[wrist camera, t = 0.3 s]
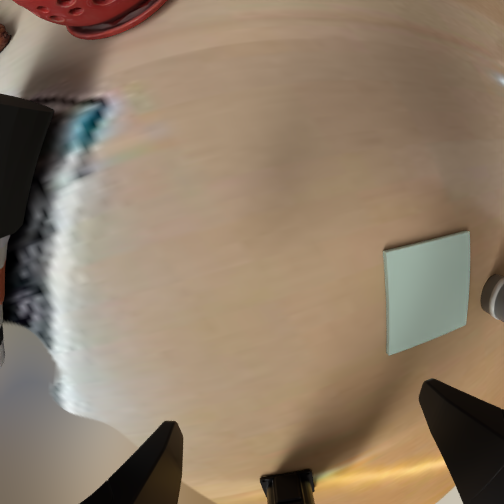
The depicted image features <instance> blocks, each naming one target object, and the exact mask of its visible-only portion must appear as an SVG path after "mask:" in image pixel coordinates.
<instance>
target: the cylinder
mask: <svg viewBox="0 0 504 504" xmlns="http://www.w3.org/2000/svg"><path fill="white" fill-rule="evenodd" d="M481 307H482V309H483V310H484V311H486V312H487V313H489V314H491V316H492V317H494V318H496V319H498V320H501V321H503V322H504V277H503V276H500V275H498V274H495V275H493V276H491V277H490V278H489V279H488V281H487V282H486V284H485V286H484V288H483V291H482V294H481Z"/></svg>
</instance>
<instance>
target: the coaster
mask: <svg viewBox="0 0 504 504" xmlns="http://www.w3.org/2000/svg"><path fill="white" fill-rule="evenodd" d="M383 258H384V271H385V288H386V319H387V344H386V353H387V354H388V355H392V354H395V353H398V352H401V351H404V350H406V349H409V348H412V347H414V346H417V345H420V344H422V343H425V342H427V341H430V340H432V339H435V338H437V337H439V336H442V335H444V334H447V333H449V332H451V331H453V330H456V329H458V328H460V327H462V326H464V325H466V320H467V310H468V298H469V282H470V231H462V232H458V233H454V234H450V235H446V236H442V237H438V238H434V239H430V240H426V241H422V242H418V243H414V244H410V245H406V246H402V247H397V248H393V249H389V250H385V251H383Z"/></svg>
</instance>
